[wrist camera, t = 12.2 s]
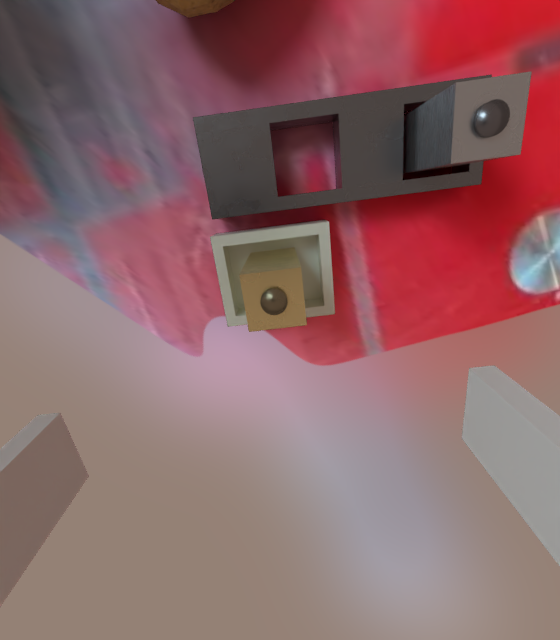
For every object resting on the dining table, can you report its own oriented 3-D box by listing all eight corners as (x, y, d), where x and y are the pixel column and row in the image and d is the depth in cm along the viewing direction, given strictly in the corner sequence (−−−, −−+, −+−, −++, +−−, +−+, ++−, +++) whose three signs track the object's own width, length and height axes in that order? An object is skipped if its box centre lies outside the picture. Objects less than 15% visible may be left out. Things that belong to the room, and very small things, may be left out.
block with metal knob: (250, 252, 32) (238, 276, 22) (294, 247, 32) (301, 268, 22) (257, 295, 34) (248, 333, 24) (298, 289, 34) (307, 327, 24)
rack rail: (218, 217, 32) (212, 219, 29) (201, 125, 29) (192, 117, 26) (462, 185, 31) (481, 184, 28) (470, 87, 28) (491, 74, 25)
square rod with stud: (397, 174, 30) (454, 163, 21) (398, 120, 29) (459, 80, 19) (445, 168, 30) (524, 153, 20) (448, 113, 28) (536, 69, 19)
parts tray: (231, 316, 35) (227, 326, 32) (216, 233, 32) (209, 236, 29) (330, 304, 35) (335, 314, 32) (324, 219, 32) (329, 221, 29)
